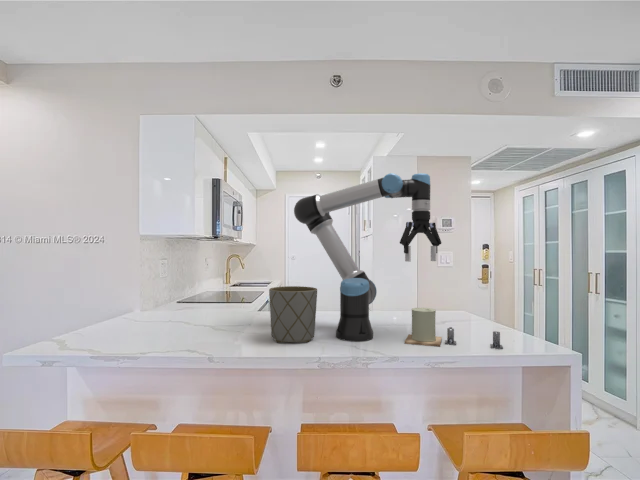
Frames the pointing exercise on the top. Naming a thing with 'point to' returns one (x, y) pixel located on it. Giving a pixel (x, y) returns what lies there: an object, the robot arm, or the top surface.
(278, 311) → the planter
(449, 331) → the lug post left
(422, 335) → the can
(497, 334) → the lug post right
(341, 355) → the top surface
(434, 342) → the tan flat square board
